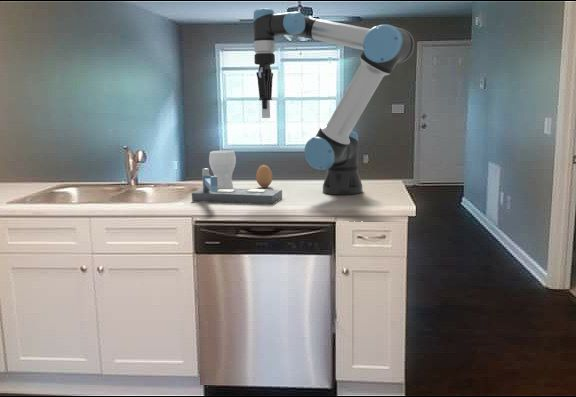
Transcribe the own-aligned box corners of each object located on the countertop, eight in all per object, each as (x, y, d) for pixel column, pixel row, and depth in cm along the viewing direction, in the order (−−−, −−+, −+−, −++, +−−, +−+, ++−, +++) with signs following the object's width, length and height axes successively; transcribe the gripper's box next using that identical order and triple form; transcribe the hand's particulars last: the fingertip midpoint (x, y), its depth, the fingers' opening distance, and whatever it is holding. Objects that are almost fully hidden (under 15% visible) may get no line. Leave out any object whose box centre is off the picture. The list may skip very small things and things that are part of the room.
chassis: (282, 198, 204) (281, 167, 202) (272, 204, 193) (271, 172, 191) (205, 195, 212) (204, 166, 210) (192, 201, 201) (190, 170, 199)
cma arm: (219, 194, 184) (218, 176, 183) (210, 195, 184) (209, 177, 183) (210, 185, 203) (210, 169, 202) (203, 186, 202) (202, 169, 201)
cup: (232, 191, 220) (231, 153, 217) (206, 191, 222) (204, 153, 219) (240, 187, 230) (238, 150, 227) (215, 186, 232) (213, 150, 230)
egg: (275, 186, 230) (275, 164, 228) (266, 189, 224) (266, 166, 223) (262, 185, 233) (261, 163, 232) (253, 187, 228) (252, 165, 226)
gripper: (260, 54, 215) (262, 117, 219) (248, 52, 202) (250, 118, 207) (279, 54, 213) (280, 117, 217) (268, 51, 200) (270, 118, 205)
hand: (266, 117), depth 212 cm, fingers closed
